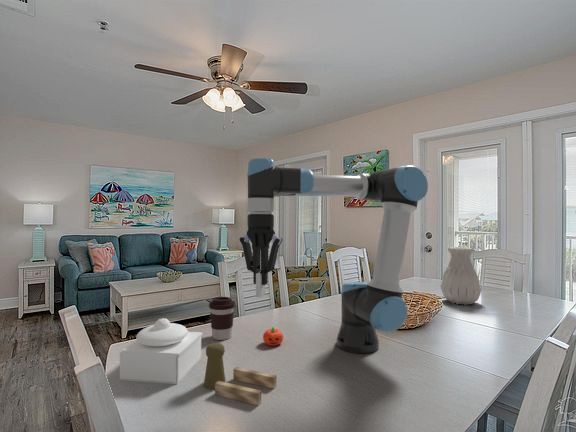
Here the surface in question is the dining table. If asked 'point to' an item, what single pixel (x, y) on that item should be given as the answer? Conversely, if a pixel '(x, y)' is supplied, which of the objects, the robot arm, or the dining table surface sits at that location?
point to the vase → (460, 278)
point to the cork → (214, 365)
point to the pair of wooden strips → (244, 392)
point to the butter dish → (161, 354)
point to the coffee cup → (222, 317)
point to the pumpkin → (273, 337)
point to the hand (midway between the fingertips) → (260, 295)
